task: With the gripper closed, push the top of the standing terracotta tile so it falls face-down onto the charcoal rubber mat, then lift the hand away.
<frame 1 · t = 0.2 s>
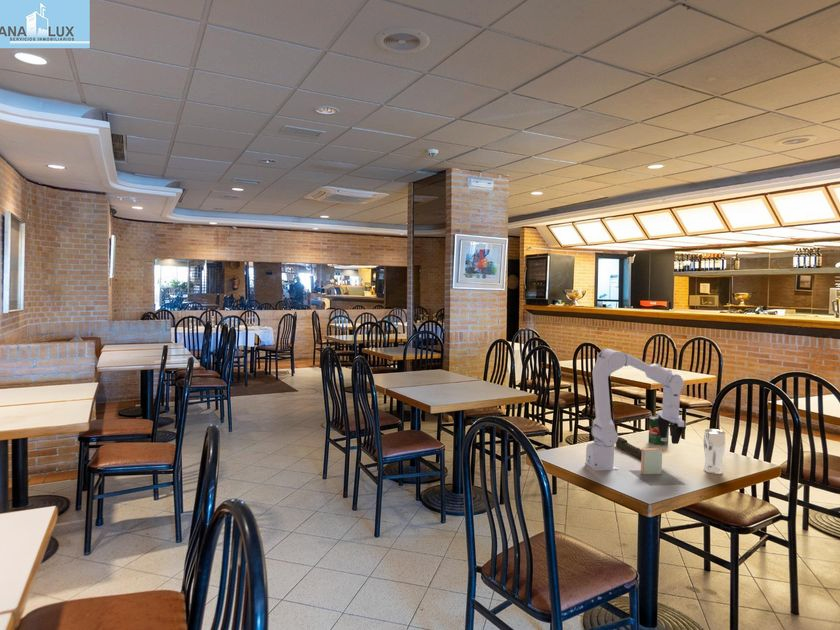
hand: (669, 440, 195), 10 cm above the table, tool pointing down, fingers open, 7 cm apart
hand tool: (628, 454, 210), on the table
canned tomato: (658, 443, 224), on the table
mat: (656, 478, 182), on the table
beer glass: (712, 472, 190), on the table
tile: (651, 473, 186), resting on mat
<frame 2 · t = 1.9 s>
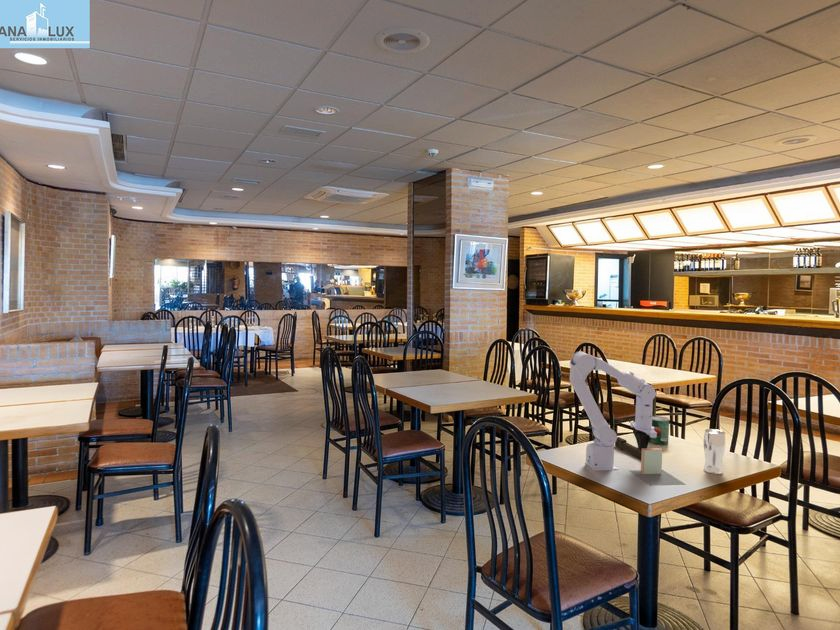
hand: (642, 451, 192), 6 cm above the table, tool pointing down, fingers closed
nothing on the table moved.
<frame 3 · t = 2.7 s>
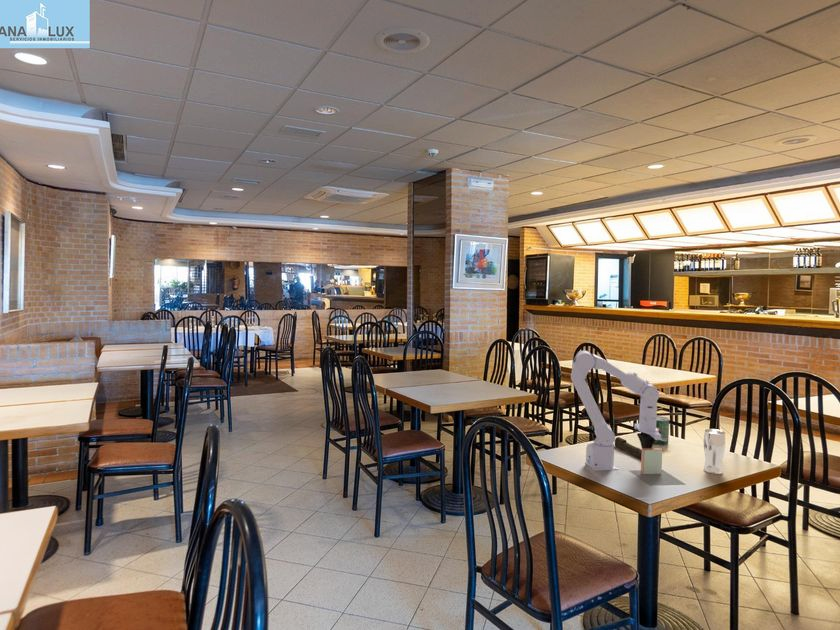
hand: (646, 453, 189), 6 cm above the table, tool pointing down, fingers closed
nothing on the table moved.
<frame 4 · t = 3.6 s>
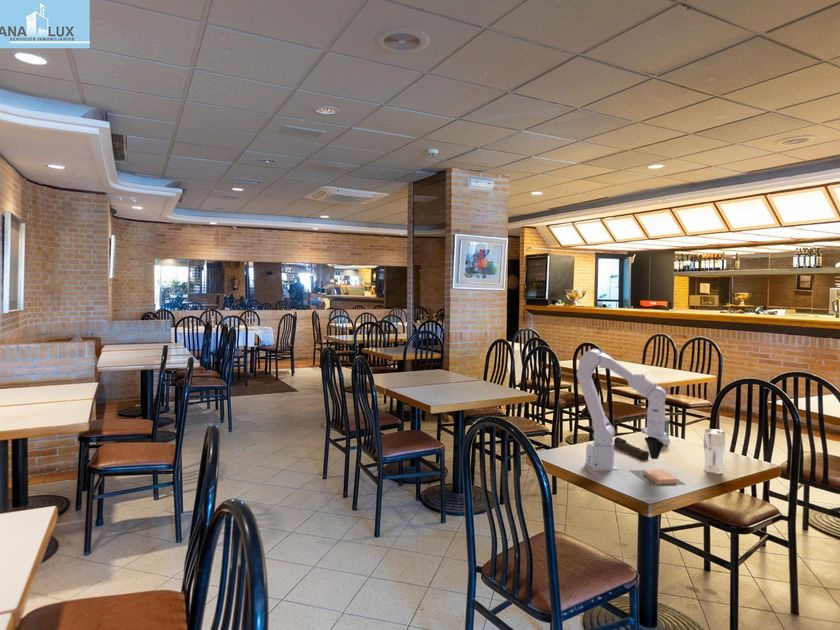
hand: (654, 458, 184), 6 cm above the table, tool pointing down, fingers closed
tile: (652, 472, 185), point 1 cm above the table, tilted 90°, touching mat
everything else where it was.
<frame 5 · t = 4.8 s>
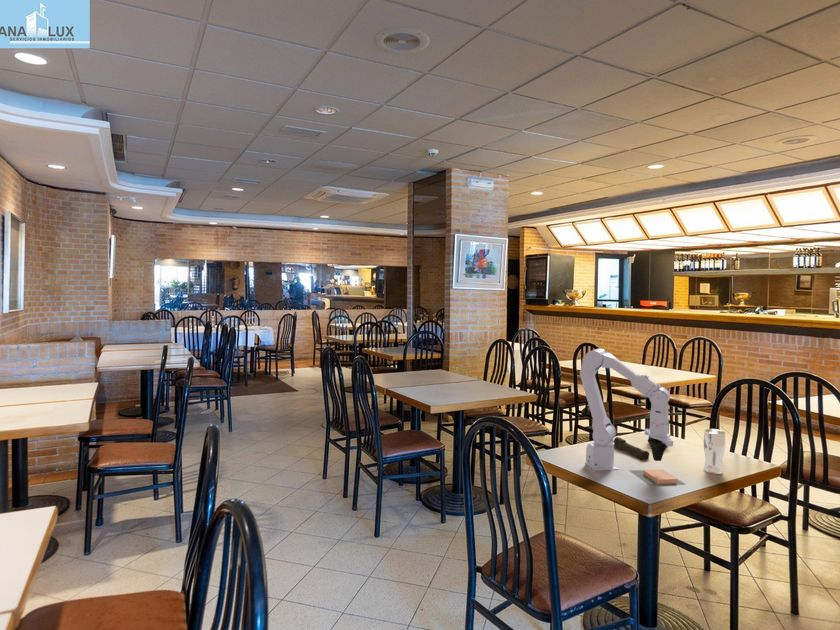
hand: (657, 460, 182), 6 cm above the table, tool pointing down, fingers closed
nothing on the table moved.
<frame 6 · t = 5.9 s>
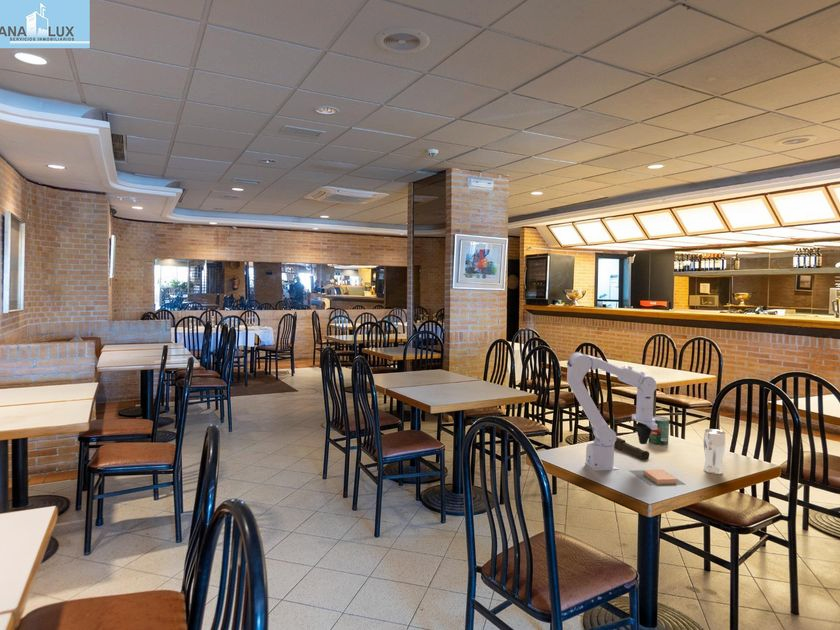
hand: (643, 443, 191), 9 cm above the table, tool pointing down, fingers closed
nothing on the table moved.
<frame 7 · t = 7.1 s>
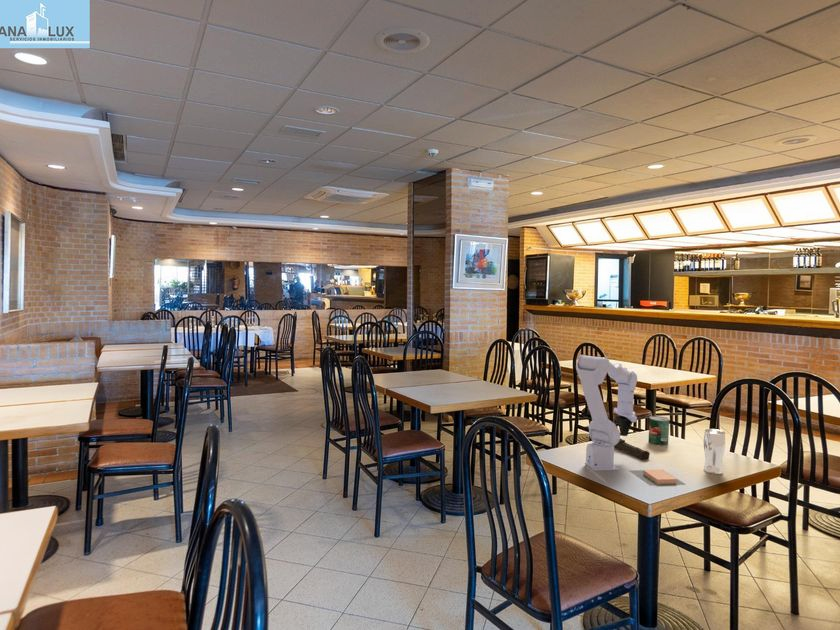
hand: (624, 435, 201), 9 cm above the table, tool pointing down, fingers closed
nothing on the table moved.
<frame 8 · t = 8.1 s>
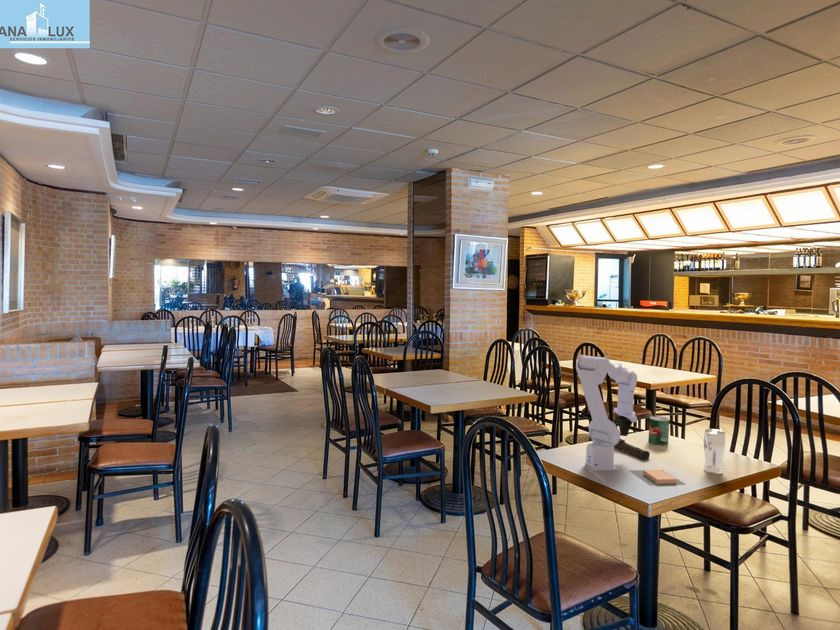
hand: (624, 435, 201), 9 cm above the table, tool pointing down, fingers closed
nothing on the table moved.
at the end: tile tilted 90°; tile inside the target area (0.6 cm from its centre), point 1.1 cm above the table; the gripper is holding nothing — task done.
